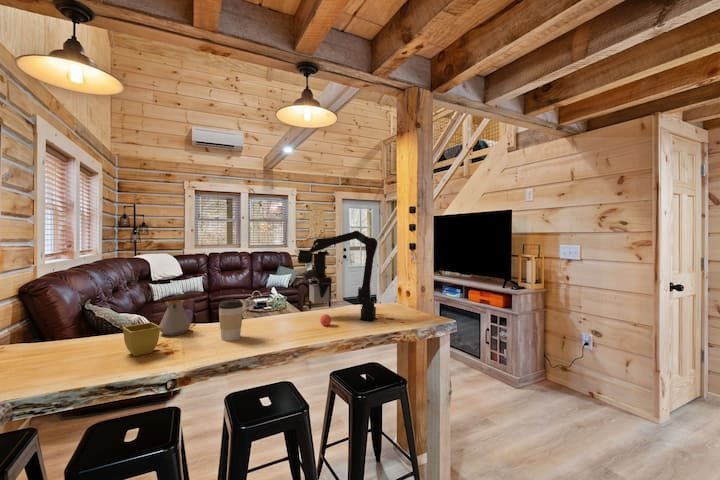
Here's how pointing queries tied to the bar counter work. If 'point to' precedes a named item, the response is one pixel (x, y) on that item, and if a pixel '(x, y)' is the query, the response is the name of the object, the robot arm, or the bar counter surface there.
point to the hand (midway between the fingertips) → (319, 295)
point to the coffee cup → (230, 319)
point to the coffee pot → (174, 319)
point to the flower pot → (141, 338)
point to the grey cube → (317, 294)
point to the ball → (325, 320)
